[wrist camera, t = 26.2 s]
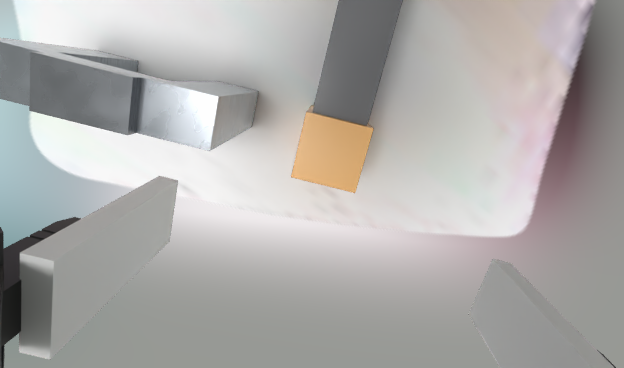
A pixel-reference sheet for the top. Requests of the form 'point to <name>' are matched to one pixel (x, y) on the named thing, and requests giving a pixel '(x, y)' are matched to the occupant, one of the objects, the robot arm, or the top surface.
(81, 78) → the housing
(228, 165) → the top surface
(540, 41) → the top surface
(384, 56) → the grey and orange block
